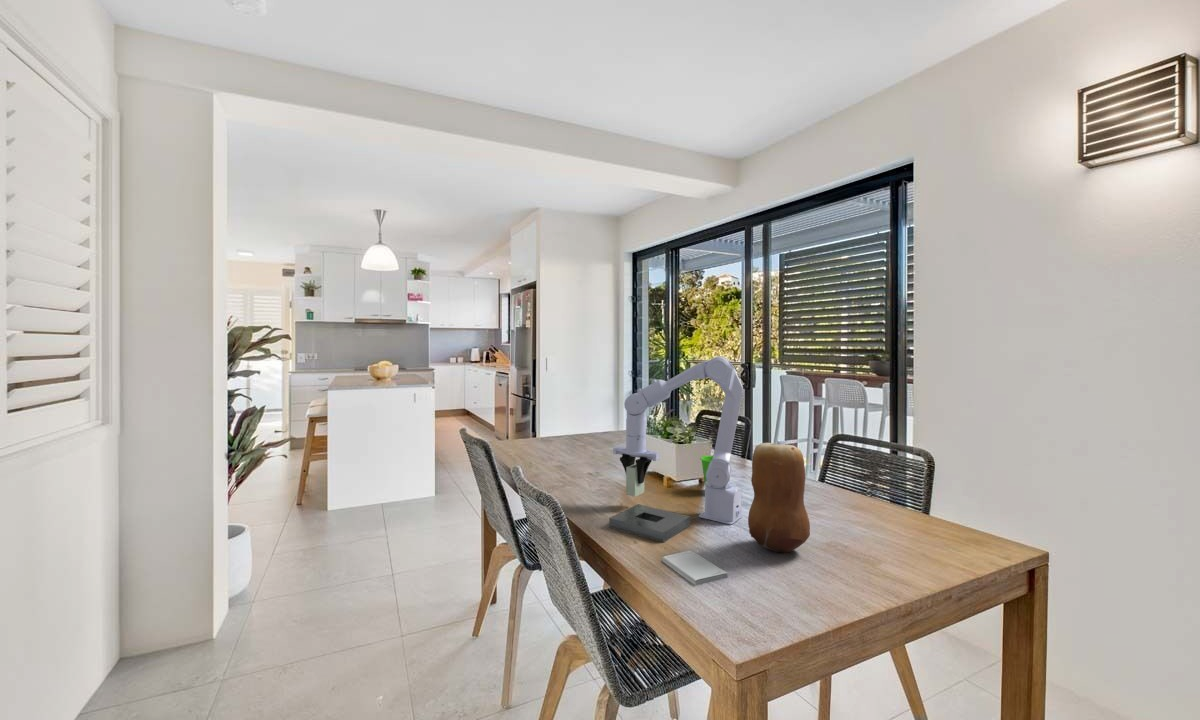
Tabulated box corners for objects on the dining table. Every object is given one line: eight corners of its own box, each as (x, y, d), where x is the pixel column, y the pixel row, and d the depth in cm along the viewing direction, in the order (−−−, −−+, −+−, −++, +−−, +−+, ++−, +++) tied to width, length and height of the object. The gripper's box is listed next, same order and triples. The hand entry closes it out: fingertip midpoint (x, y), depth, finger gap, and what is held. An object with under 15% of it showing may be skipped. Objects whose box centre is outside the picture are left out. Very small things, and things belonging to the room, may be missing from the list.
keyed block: (644, 492, 149) (644, 464, 148) (635, 496, 145) (635, 467, 144) (635, 490, 150) (635, 462, 150) (626, 494, 146) (626, 465, 146)
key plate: (689, 525, 134) (690, 516, 134) (663, 542, 123) (663, 532, 123) (638, 512, 144) (638, 504, 144) (609, 527, 132) (609, 517, 132)
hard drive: (728, 572, 105) (692, 549, 116) (695, 580, 102) (661, 555, 113) (728, 580, 105) (692, 556, 117) (695, 588, 102) (661, 563, 113)
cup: (694, 490, 165) (694, 456, 165) (716, 487, 169) (717, 454, 169) (711, 498, 157) (712, 463, 157) (734, 495, 161) (735, 460, 161)
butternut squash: (781, 535, 128) (783, 436, 127) (822, 556, 116) (825, 447, 115) (735, 542, 123) (737, 439, 122) (772, 566, 111) (775, 451, 110)
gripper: (665, 436, 146) (664, 483, 146) (622, 430, 154) (622, 474, 155) (652, 439, 140) (651, 488, 141) (609, 433, 149) (608, 479, 149)
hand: (635, 481), depth 147 cm, fingers closed on keyed block, 3 cm apart
